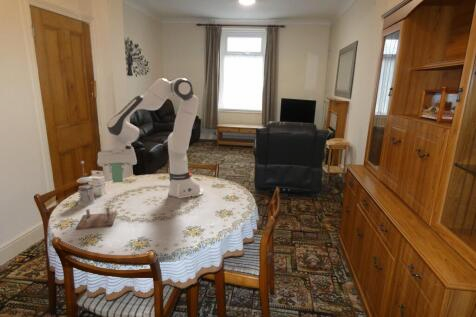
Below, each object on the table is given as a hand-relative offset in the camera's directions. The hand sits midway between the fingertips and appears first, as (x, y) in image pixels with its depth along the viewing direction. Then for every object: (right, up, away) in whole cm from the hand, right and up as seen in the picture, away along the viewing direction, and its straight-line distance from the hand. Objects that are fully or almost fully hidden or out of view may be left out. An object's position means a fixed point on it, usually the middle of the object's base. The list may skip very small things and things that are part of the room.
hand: (117, 171), depth 158 cm
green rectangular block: (0, -6, +2) cm, 6 cm away
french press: (-22, -19, +11) cm, 31 cm away
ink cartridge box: (-22, -15, +24) cm, 36 cm away
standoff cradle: (-5, -25, -11) cm, 28 cm away
